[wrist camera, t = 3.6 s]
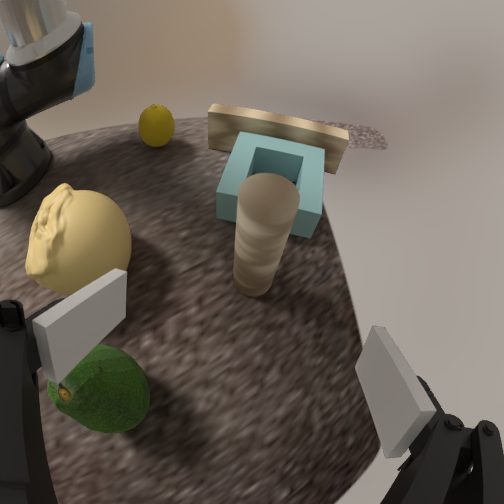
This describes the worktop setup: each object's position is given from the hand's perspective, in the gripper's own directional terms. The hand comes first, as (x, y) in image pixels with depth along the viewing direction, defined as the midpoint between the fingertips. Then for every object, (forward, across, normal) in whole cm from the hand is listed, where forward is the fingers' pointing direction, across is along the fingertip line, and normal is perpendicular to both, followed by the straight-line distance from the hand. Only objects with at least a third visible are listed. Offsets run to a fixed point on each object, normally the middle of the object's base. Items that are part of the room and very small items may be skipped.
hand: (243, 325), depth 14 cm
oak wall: (+33, -1, +11) cm, 35 cm away
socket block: (+27, 0, +6) cm, 27 cm away
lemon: (+31, -19, +10) cm, 38 cm away
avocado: (+7, -10, -15) cm, 19 cm away
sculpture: (+16, -19, -6) cm, 26 cm away
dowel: (+18, 0, -4) cm, 18 cm away
